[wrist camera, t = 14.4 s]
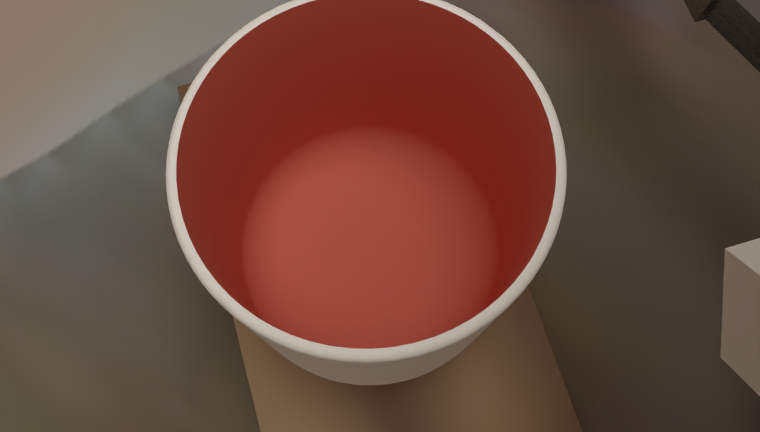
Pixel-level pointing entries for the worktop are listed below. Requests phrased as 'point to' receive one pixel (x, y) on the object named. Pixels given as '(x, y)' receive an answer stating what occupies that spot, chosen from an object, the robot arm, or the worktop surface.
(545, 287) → the worktop surface
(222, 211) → the cup
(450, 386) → the walnut board
